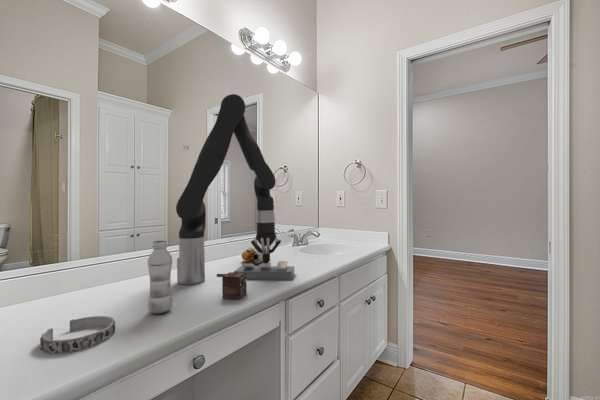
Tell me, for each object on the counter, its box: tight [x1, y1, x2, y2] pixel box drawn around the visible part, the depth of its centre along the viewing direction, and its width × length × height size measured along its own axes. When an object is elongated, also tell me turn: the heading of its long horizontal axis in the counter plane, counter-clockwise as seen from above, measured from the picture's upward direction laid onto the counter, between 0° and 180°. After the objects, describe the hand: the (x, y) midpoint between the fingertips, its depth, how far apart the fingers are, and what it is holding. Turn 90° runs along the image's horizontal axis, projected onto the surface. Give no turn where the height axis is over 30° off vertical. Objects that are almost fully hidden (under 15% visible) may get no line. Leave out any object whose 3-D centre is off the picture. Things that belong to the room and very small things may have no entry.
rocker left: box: [241, 262, 255, 268], centre depth 118 cm, size 4×6×2 cm, turn 175°
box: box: [221, 271, 248, 301], centre depth 94 cm, size 6×6×7 cm
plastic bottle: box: [147, 240, 174, 315], centre depth 82 cm, size 6×7×20 cm
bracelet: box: [39, 315, 116, 355], centre depth 67 cm, size 14×14×3 cm
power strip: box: [215, 265, 295, 281], centre depth 118 cm, size 32×9×3 cm, turn 85°
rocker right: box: [276, 260, 288, 270], centre depth 117 cm, size 4×6×2 cm, turn 175°
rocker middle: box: [258, 262, 272, 268], centre depth 117 cm, size 4×6×2 cm, turn 175°
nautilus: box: [240, 246, 267, 265], centre depth 142 cm, size 8×22×15 cm
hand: (266, 262), depth 120 cm, fingers closed
